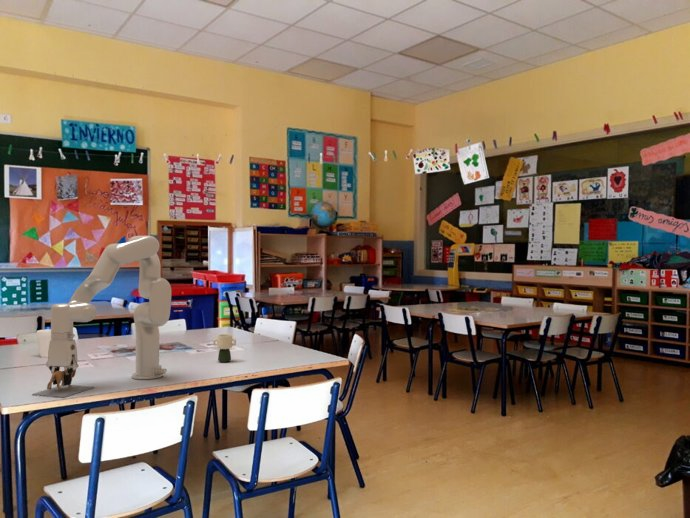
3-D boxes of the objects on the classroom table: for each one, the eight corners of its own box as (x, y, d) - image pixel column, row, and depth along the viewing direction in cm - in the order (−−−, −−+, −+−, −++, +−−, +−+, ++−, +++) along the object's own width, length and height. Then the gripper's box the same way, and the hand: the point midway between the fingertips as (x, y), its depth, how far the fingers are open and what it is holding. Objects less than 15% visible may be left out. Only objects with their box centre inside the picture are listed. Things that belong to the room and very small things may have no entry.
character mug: (236, 360, 277) (237, 334, 277) (234, 363, 270) (234, 336, 270) (214, 360, 277) (214, 334, 276) (211, 363, 269) (212, 336, 269)
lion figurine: (63, 383, 221) (67, 360, 222) (77, 385, 221) (80, 362, 221) (42, 390, 207) (46, 365, 207) (57, 392, 206) (60, 368, 207)
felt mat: (94, 387, 220) (94, 386, 220) (63, 397, 204) (63, 396, 204) (64, 385, 223) (64, 384, 223) (32, 395, 208) (32, 394, 208)
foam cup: (48, 358, 279) (48, 332, 279) (32, 357, 281) (32, 331, 281) (61, 354, 289) (62, 329, 288) (46, 354, 290) (46, 328, 290)
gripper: (87, 336, 215) (87, 383, 216) (51, 334, 220) (51, 380, 220) (73, 338, 208) (73, 388, 208) (36, 336, 213) (36, 385, 213)
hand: (62, 383), depth 214 cm, fingers closed on lion figurine, 4 cm apart
